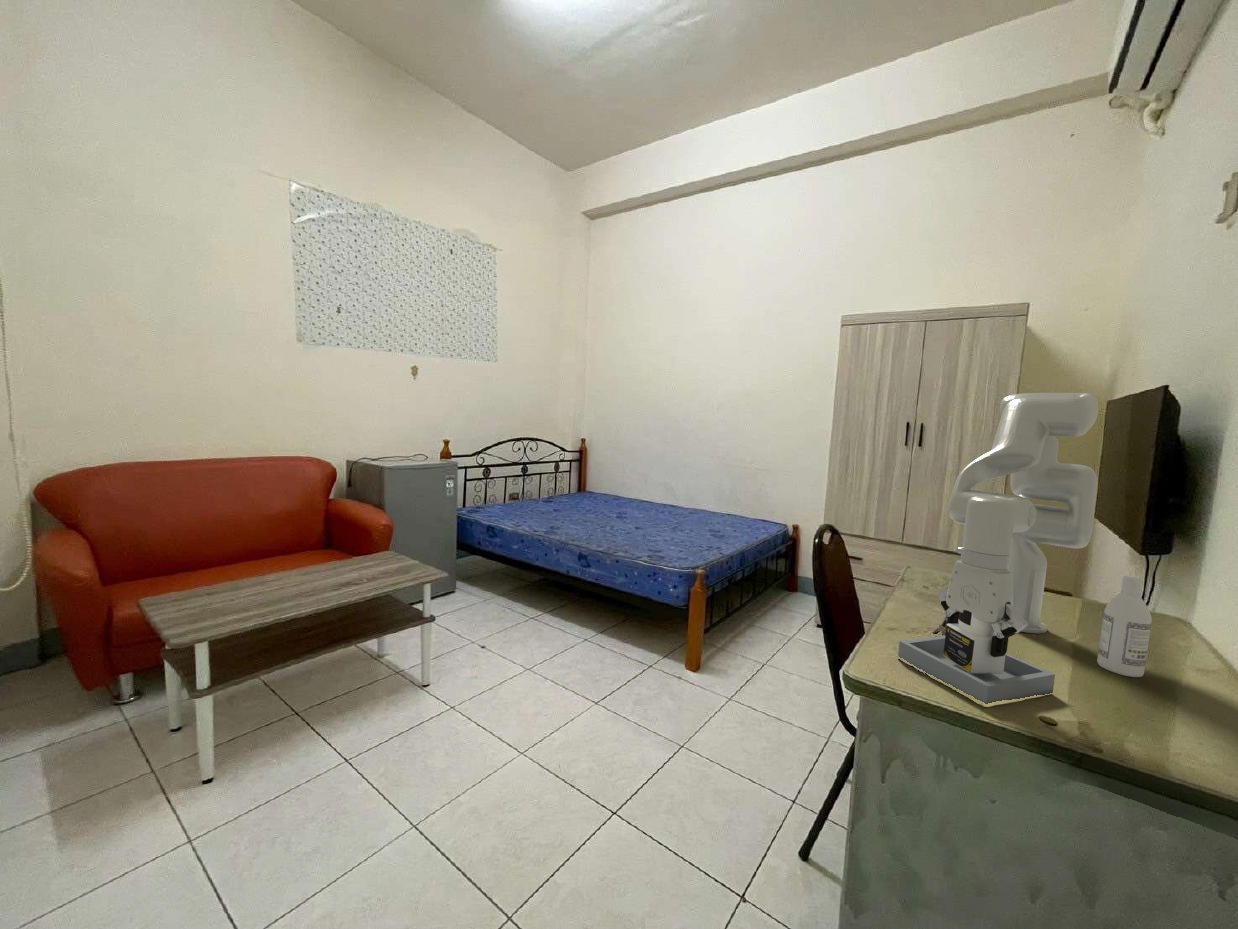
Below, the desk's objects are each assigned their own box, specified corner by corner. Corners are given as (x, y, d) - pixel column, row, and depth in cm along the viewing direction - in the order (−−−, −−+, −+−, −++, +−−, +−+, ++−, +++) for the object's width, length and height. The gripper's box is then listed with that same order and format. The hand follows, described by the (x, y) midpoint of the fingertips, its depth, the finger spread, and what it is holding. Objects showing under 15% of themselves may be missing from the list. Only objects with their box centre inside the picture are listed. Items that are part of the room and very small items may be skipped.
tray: (897, 659, 102) (899, 641, 102) (958, 650, 108) (960, 633, 108) (985, 708, 85) (988, 686, 85) (1052, 694, 91) (1055, 674, 91)
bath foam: (1149, 674, 101) (1163, 581, 99) (1135, 681, 98) (1149, 585, 96) (1105, 659, 107) (1118, 571, 106) (1090, 665, 104) (1103, 574, 103)
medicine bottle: (942, 656, 100) (948, 600, 99) (974, 656, 101) (981, 600, 100) (969, 674, 93) (977, 614, 92) (1004, 674, 94) (1011, 614, 92)
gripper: (929, 548, 102) (920, 628, 103) (1020, 575, 85) (1008, 669, 87) (955, 547, 104) (946, 625, 106) (1048, 572, 88) (1036, 664, 89)
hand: (974, 645), depth 96 cm, fingers closed on medicine bottle, 8 cm apart
